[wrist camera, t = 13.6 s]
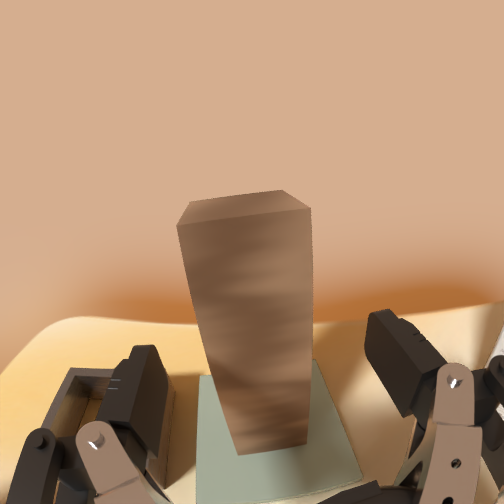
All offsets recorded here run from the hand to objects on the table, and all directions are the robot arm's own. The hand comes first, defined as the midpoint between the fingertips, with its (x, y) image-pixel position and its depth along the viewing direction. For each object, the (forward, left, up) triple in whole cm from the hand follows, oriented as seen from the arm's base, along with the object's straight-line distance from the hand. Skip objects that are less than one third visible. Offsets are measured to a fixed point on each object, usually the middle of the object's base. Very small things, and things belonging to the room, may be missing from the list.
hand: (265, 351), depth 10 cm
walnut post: (0, -3, -10) cm, 11 cm away
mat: (0, -4, -11) cm, 11 cm away
